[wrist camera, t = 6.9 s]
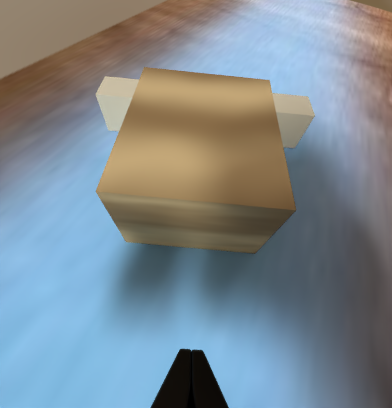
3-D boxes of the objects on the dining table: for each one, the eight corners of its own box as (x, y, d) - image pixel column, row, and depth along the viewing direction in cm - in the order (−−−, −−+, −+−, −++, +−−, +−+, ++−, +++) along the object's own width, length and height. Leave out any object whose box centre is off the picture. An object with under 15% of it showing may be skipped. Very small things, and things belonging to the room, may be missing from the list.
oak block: (254, 254, 17) (296, 210, 11) (126, 242, 16) (95, 191, 10) (246, 146, 23) (269, 80, 17) (153, 137, 23) (144, 67, 17)
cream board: (294, 148, 23) (316, 113, 19) (108, 130, 22) (94, 91, 19) (290, 129, 24) (309, 93, 21) (116, 112, 24) (104, 72, 20)
